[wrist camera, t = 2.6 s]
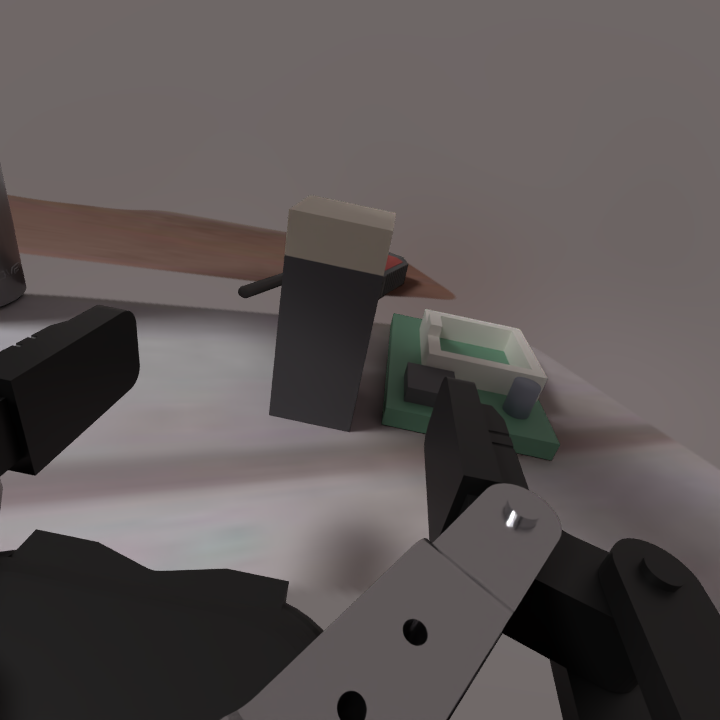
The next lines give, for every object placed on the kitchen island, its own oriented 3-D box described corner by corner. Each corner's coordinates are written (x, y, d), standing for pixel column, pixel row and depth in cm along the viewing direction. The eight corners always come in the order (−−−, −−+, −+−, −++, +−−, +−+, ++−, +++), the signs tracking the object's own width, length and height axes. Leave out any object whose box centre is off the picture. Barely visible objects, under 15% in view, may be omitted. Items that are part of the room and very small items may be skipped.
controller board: (381, 424, 24) (396, 368, 22) (390, 325, 36) (400, 284, 35) (551, 460, 24) (580, 407, 22) (503, 349, 36) (519, 309, 35)
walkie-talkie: (344, 262, 52) (229, 304, 35) (350, 225, 49) (231, 253, 33) (410, 284, 49) (317, 341, 33) (419, 246, 47) (325, 287, 30)
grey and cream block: (269, 414, 23) (289, 209, 18) (289, 373, 27) (310, 194, 22) (349, 431, 23) (393, 231, 18) (357, 388, 27) (396, 213, 22)
